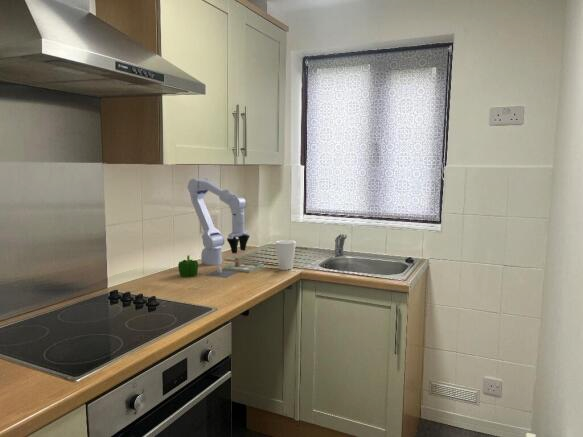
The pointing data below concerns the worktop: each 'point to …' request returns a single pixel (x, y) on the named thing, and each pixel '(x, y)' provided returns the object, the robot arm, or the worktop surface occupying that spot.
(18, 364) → the worktop surface
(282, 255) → the foam cup
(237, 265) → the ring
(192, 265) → the bell pepper
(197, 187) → the robot arm
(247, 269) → the tray
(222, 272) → the stake board
